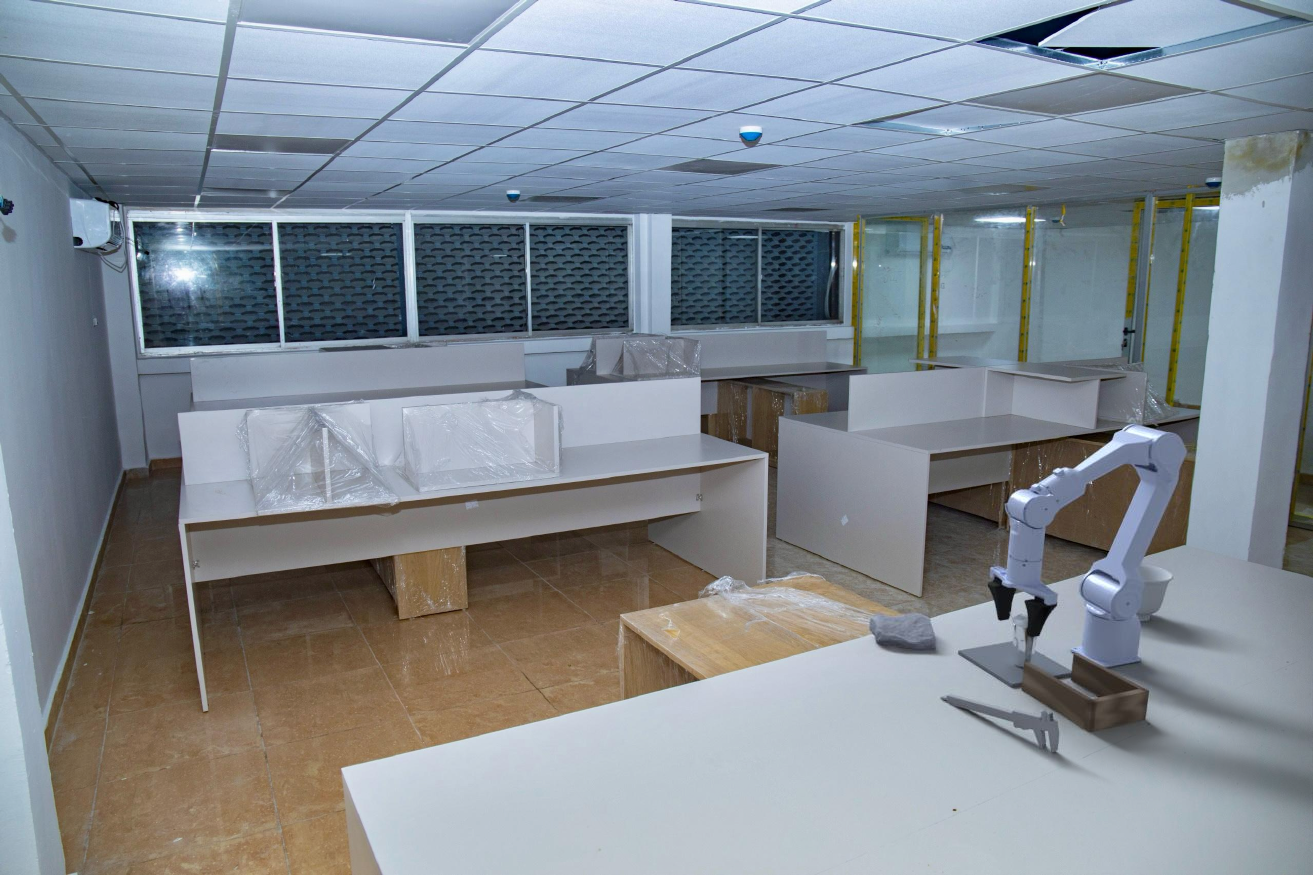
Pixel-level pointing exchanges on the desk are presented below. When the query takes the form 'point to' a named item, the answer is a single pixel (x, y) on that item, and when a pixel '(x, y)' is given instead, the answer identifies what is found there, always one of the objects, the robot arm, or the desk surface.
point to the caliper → (1015, 719)
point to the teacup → (1152, 589)
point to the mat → (1009, 663)
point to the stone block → (903, 630)
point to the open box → (1110, 709)
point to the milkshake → (1022, 641)
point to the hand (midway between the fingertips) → (1018, 627)
